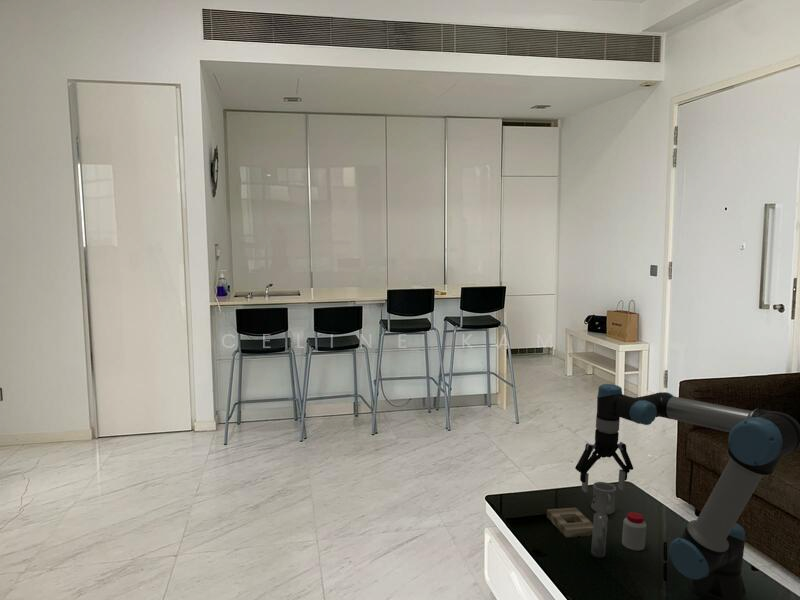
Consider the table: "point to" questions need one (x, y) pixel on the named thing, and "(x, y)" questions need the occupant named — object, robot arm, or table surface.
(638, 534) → the pill bottle
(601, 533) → the grey cylindrical peg
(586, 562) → the table surface
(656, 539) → the table surface
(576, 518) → the jig
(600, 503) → the mug
